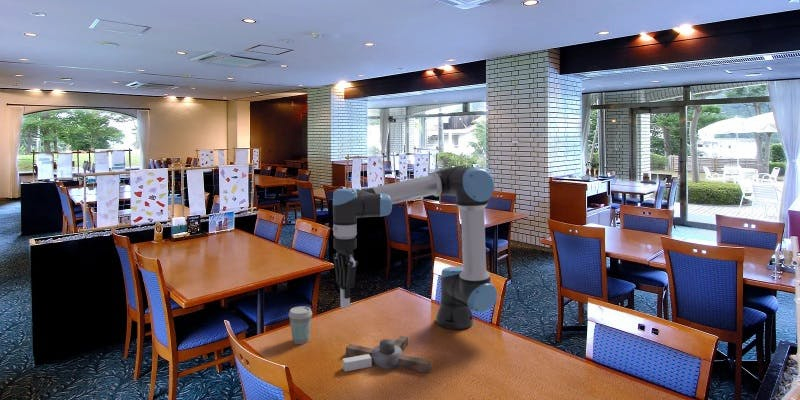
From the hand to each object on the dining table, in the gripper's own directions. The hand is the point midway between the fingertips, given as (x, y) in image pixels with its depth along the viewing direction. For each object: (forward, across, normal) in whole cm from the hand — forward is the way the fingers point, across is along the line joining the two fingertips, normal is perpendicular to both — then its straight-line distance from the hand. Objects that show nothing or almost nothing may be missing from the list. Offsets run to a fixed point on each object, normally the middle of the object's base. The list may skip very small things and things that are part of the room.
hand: (345, 306), depth 149 cm
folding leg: (+19, +5, +1) cm, 20 cm away
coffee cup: (+20, -24, -6) cm, 31 cm away
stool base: (+19, +8, +12) cm, 24 cm away
